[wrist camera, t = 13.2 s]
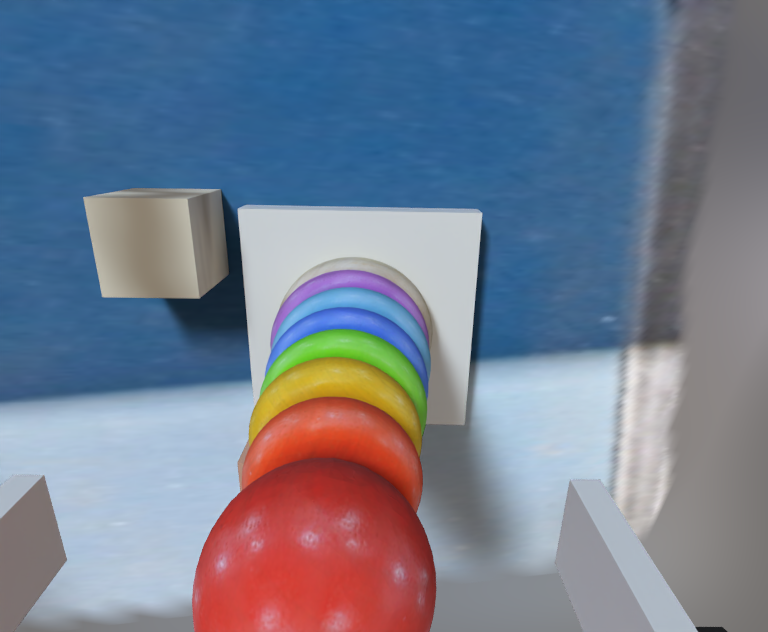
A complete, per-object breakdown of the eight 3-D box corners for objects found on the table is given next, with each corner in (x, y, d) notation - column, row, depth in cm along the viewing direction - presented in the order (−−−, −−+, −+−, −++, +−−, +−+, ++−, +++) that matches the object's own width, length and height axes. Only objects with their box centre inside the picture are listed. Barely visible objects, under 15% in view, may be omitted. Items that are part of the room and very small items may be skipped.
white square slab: (261, 407, 29) (255, 420, 28) (246, 205, 25) (237, 208, 24) (460, 411, 29) (464, 425, 28) (476, 209, 25) (482, 213, 24)
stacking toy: (414, 403, 27) (455, 872, 10) (273, 379, 27) (53, 822, 9) (445, 268, 25) (580, 579, 7) (290, 240, 24) (28, 494, 7)
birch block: (147, 272, 27) (102, 297, 23) (134, 187, 25) (83, 197, 21) (229, 273, 27) (199, 298, 23) (221, 189, 25) (187, 199, 21)
